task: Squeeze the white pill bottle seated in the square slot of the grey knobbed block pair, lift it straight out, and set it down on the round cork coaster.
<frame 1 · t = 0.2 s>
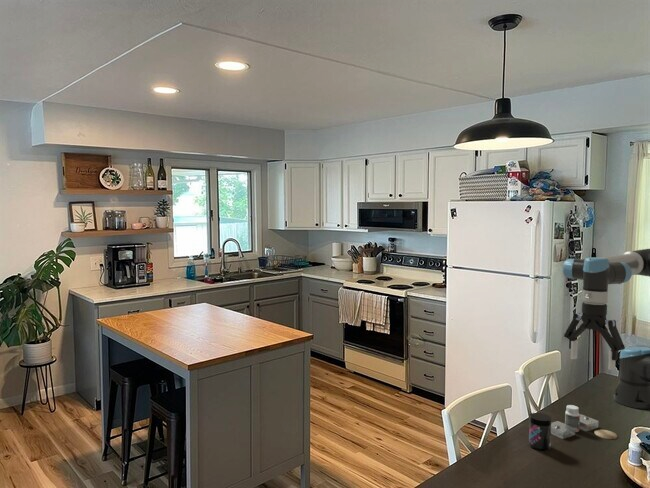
hand: (592, 363, 170), 27 cm above the table, fingers open, 13 cm apart
supplement container: (539, 447, 166), on the table
cork coaster: (605, 434, 175), on the table
pill bottle: (572, 430, 180), on the table
grey knobbed block pair: (572, 429, 180), on the table
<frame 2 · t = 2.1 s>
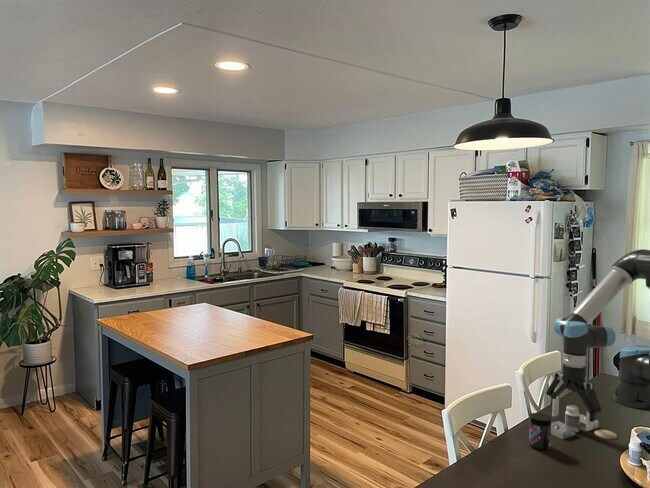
hand: (571, 422, 180), 3 cm above the table, fingers open, 13 cm apart
nothing on the table moved.
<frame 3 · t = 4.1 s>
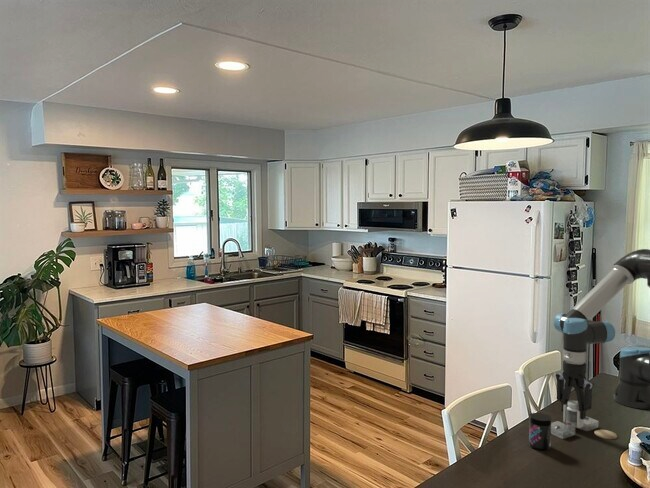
hand: (573, 424, 180), 2 cm above the table, fingers closed on pill bottle, 5 cm apart
pill bottle: (573, 425, 180), point 1 cm above the table, touching gripper
everything else where it was.
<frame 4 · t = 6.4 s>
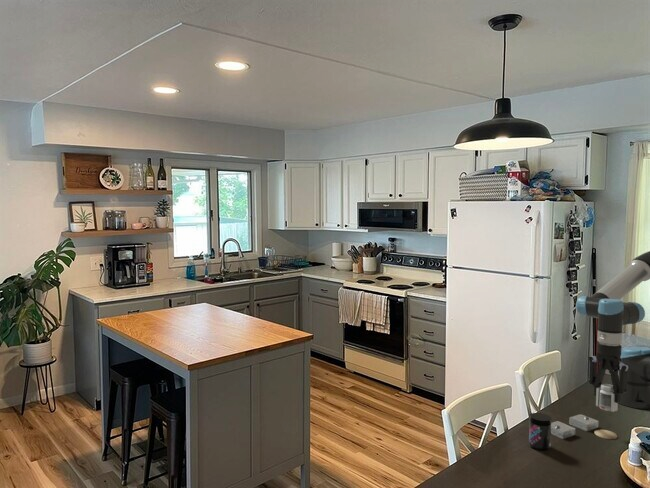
hand: (606, 407, 175), 10 cm above the table, fingers closed on pill bottle, 5 cm apart
pill bottle: (606, 409, 175), point 9 cm above the table, touching gripper
everything else where it was.
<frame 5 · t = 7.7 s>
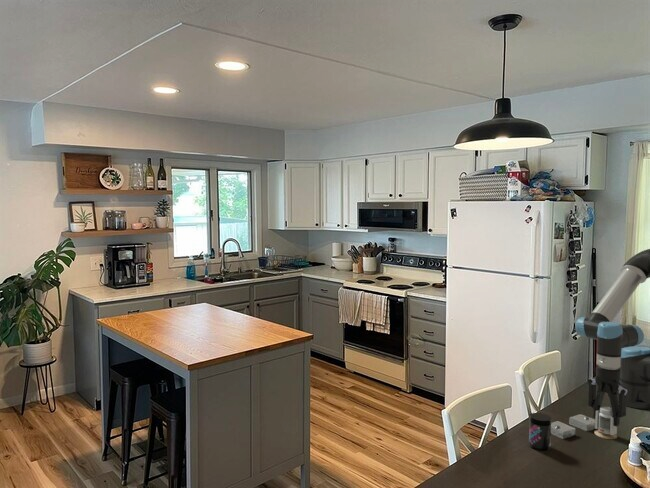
hand: (605, 430, 175), 1 cm above the table, fingers closed on pill bottle, 5 cm apart
pill bottle: (606, 432, 175), point 1 cm above the table, touching gripper
everything else where it was.
when the fingers open (1 cm above the table, at t = 8.5 s): pill bottle stays where it is, resting on cork coaster.
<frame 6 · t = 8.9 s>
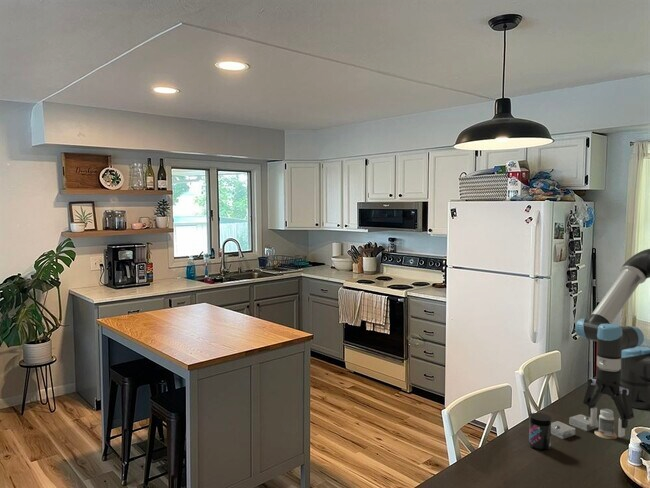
hand: (607, 430, 175), 2 cm above the table, fingers open, 9 cm apart
pill bottle: (606, 434, 176), resting on cork coaster
everything else where it was.
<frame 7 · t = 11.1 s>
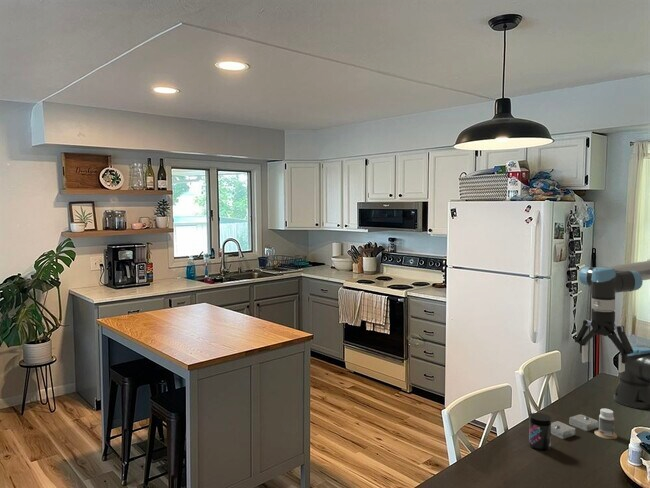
hand: (602, 366, 182), 22 cm above the table, fingers open, 13 cm apart
nothing on the table moved.
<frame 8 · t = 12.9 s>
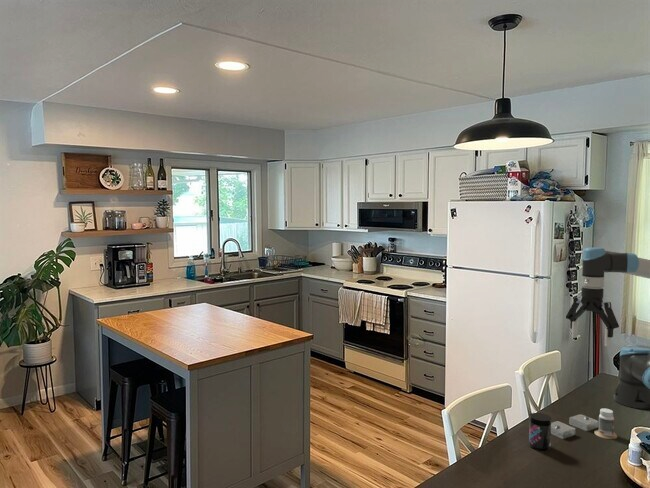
hand: (590, 341, 193), 29 cm above the table, fingers open, 13 cm apart
nothing on the table moved.
at the end: pill bottle 0.3 cm from the cork coaster (horizontally); pill bottle tilted 1°; pill bottle touching cork coaster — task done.
